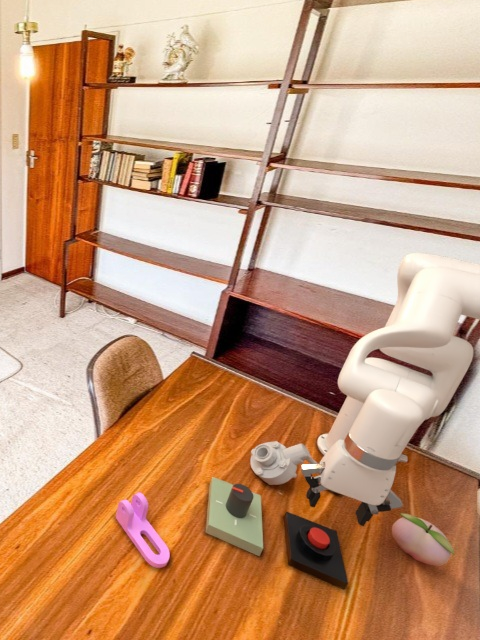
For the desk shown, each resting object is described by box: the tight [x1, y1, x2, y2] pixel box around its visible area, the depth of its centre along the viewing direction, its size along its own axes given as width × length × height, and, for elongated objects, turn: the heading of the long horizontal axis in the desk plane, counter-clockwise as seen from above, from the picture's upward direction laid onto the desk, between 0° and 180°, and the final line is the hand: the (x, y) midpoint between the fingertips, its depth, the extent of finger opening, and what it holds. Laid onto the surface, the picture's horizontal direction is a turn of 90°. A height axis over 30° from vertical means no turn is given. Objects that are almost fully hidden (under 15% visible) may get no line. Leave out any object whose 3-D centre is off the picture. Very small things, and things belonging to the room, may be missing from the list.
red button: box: [308, 528, 330, 549], centre depth 86 cm, size 4×4×2 cm
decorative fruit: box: [391, 512, 456, 567], centre depth 86 cm, size 9×8×10 cm
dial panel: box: [205, 476, 264, 557], centre depth 93 cm, size 14×11×3 cm
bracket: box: [115, 491, 171, 569], centre depth 87 cm, size 13×6×7 cm, turn 26°
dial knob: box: [226, 483, 254, 518], centre depth 91 cm, size 4×4×6 cm
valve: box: [249, 440, 338, 494], centre depth 102 cm, size 10×20×15 cm
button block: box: [283, 511, 349, 590], centre depth 87 cm, size 12×10×4 cm
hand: (334, 510), depth 82 cm, fingers open, 7 cm apart
